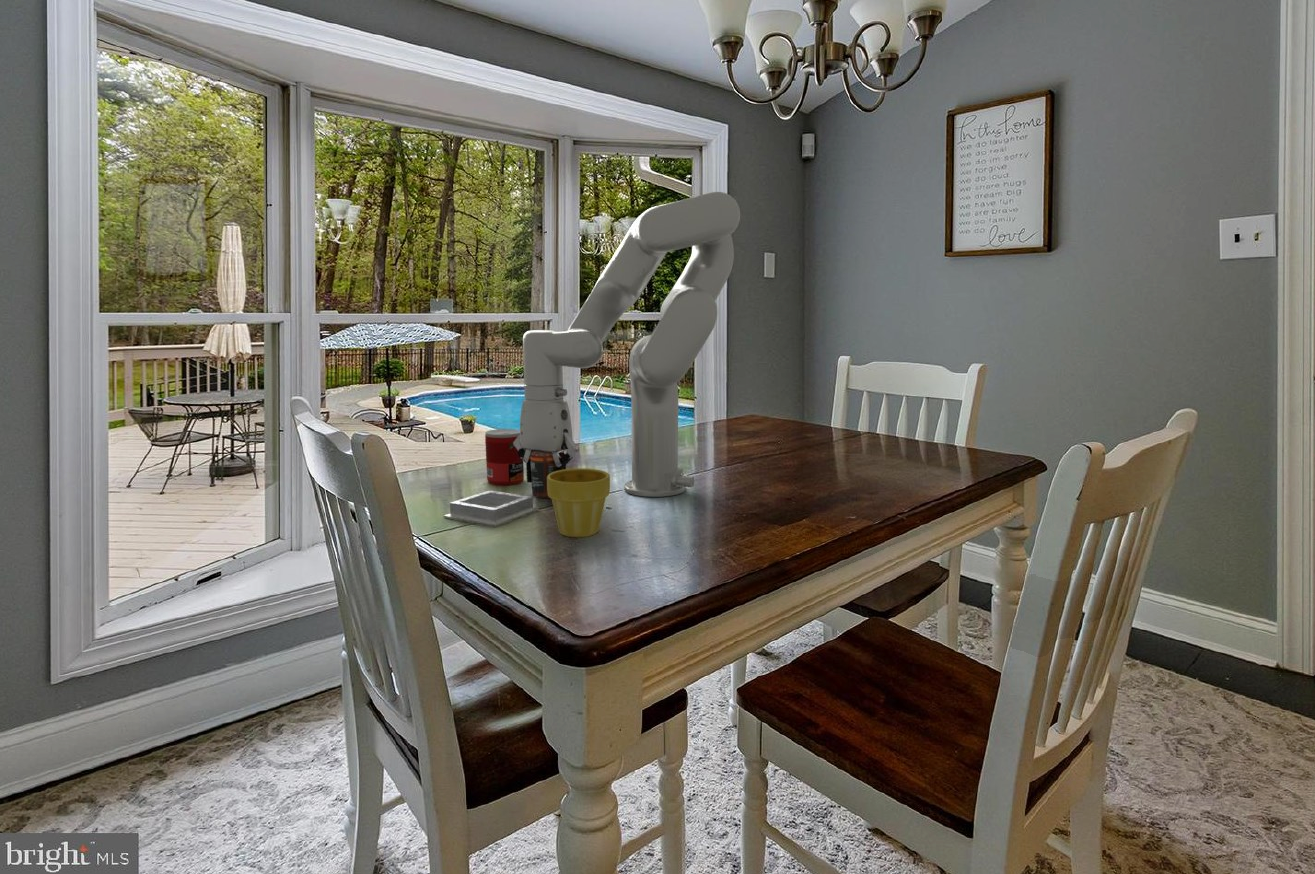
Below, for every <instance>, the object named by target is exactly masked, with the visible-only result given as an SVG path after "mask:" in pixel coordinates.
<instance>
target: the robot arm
mask: <svg viewBox="0 0 1315 874" xmlns="http://www.w3.org/2000/svg"><path fill="white" fill-rule="evenodd" d="M740 220H741V210H740V206H739V203H738V202H737V200H736V199H734V197H733V196H731V194H727V193H726V192H722V191H712V192H708V193H704V194H701V195H697V196H692V197H689V198H685V199H681V200H677V201H673V202H669V203H665V204H660V205H656V206H653V207H650V208H648V209H646V210H645V211H643V212H642V213H640V215H638V216H637V218H636V219H635V220H634V221H633V223H632V225H631V226H630V227H629V228H628V231H627V232H626V234H625V236H624V237H623V239H622V241H621V242H620V244H619V245H618V247H617V248H616V250H615V252H614V254H613V255H612V257H611V259H610V260H609V262H608V263H607V265H606V266H605V268H604V270H603V271H602V273H601V274H600V276H599V277H598V280H597V281H596V283H595V285H594V286H593V289H592V290H591V293H590V294H589V295H588V297H587V299H586V300H585V302H584V303H583V305H582V307H581V308H580V310H579V311H578V313H577V315H576V316H575V318H574V319H573V321H572V322H571V324H570V325H569V327H568V329H567V330H566V331H557V330H553V329H534V330H533V329H531V330H527V331H526V332H524V334H523V337H522V354H523V355H522V356H523V383H524V389H523V391H524V400H522V403H521V410H520V418H519V430H520V435H519V436H518V437H517V438H516V440H515V441H514V442H513V444H514V446H515V447H516V448H517V450H519V453H520V455H521V456H522V457H523V463H524V464H525V466H526V469H525V470H526V482H527V483H530V484H532V482H531V452H532V451H533V450H541V451H546V452H552V455H553V458H554V461H555V464H556V466H555V467H554V468H553V472H555V471H559V470H564V469H567V465H569V462H570V461H572V459H573V457H574V456H575V455H576V454H577V453H578V452H579V450H580V449H579V447H578V446H579V445H577V443H576V442H575V441H574V439H573V426H572V425H573V424H572V418H571V412H570V407H569V404H568V401H567V400H564V397H566V396H568V390H567V389H566V388H565V389H564V374H563V370H564V367H566V368H567V367H568V368H575V369H576V368H577V369H588V368H591V367H593V366H595V365H597V364H598V362H599V361H600V360H601V358H602V356H603V353H604V348H603V344H604V342H605V340H606V338H607V336H608V335H609V334H610V332H611V330H612V328H614V326H615V324H616V323H617V322H618V321H619V320H620V318H621V317H622V316H623V314H625V312H627V311H628V310H629V309H631V307H632V306H633V305H634V304H635V303H636V302H637V300H638V299H639V298H640V297H641V295H642V294H643V292H644V290H645V288H646V287H647V285H648V283H649V282H650V280H651V279H652V277H653V275H654V274H655V272H656V271H657V269H658V267H659V266H660V264H661V262H662V261H663V259H664V258H665V256H666V255H667V253H669V252H673V251H678V250H683V249H686V248H689V247H692V250H691V251H692V252H691V253H690V254H691V255H690V257H689V260H688V262H687V263H686V265H685V267H684V269H683V271H682V272H681V274H680V276H679V278H678V279H677V281H676V282H675V283H674V285H673V287H672V289H671V290H670V291H669V293H668V294H667V296H666V297H665V299H664V300H663V302H662V305H661V307H660V309H659V310H660V312H659V314H660V315H659V316H660V320H659V321H658V323H657V325H656V327H655V328H654V330H653V332H651V334H650V335H646V336H643V337H642V338H640V339H638V340H637V341H636V342H635V344H634V345H633V346H632V348H631V351H630V354H629V359H628V360H629V362H628V365H629V366H628V368H629V369H628V370H629V380H630V397H631V398H630V401H631V402H630V405H631V406H630V407H631V408H630V411H631V412H630V413H631V421H630V422H631V427H630V428H631V429H630V430H631V480H629V481H626V482H625V483H624V485H623V487H624V488H623V489H624V491H625V492H626V493H627V494H629V495H634V496H638V497H650V498H655V497H656V498H658V497H659V498H661V497H662V498H663V497H670V496H672V497H673V496H675V495H676V496H678V495H679V494H682V493H684V492H685V491H686V487H687V488H693V487H694V486H695V477H694V476H693V475H684V473H683V471H684V469H683V468H682V467H679V389H678V387H679V386H678V383H679V382H680V381H681V380H682V379H683V378H684V376H685V375H686V374H687V373H688V371H689V370H690V368H691V366H692V364H693V363H694V362H695V360H696V358H697V356H699V353H700V352H701V350H702V348H703V347H704V345H705V344H706V342H707V340H708V338H709V337H710V335H711V334H712V332H713V330H714V328H715V325H716V322H717V320H718V306H717V303H716V300H717V299H718V297H719V295H720V294H721V291H722V289H723V288H724V286H725V284H726V282H727V280H728V279H729V277H730V275H731V272H732V269H733V266H734V265H733V264H734V259H735V249H734V242H733V236H732V234H733V233H735V231H736V229H737V228H738V226H739V224H740ZM559 454H560V456H559ZM560 457H561V458H560Z"/></svg>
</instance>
